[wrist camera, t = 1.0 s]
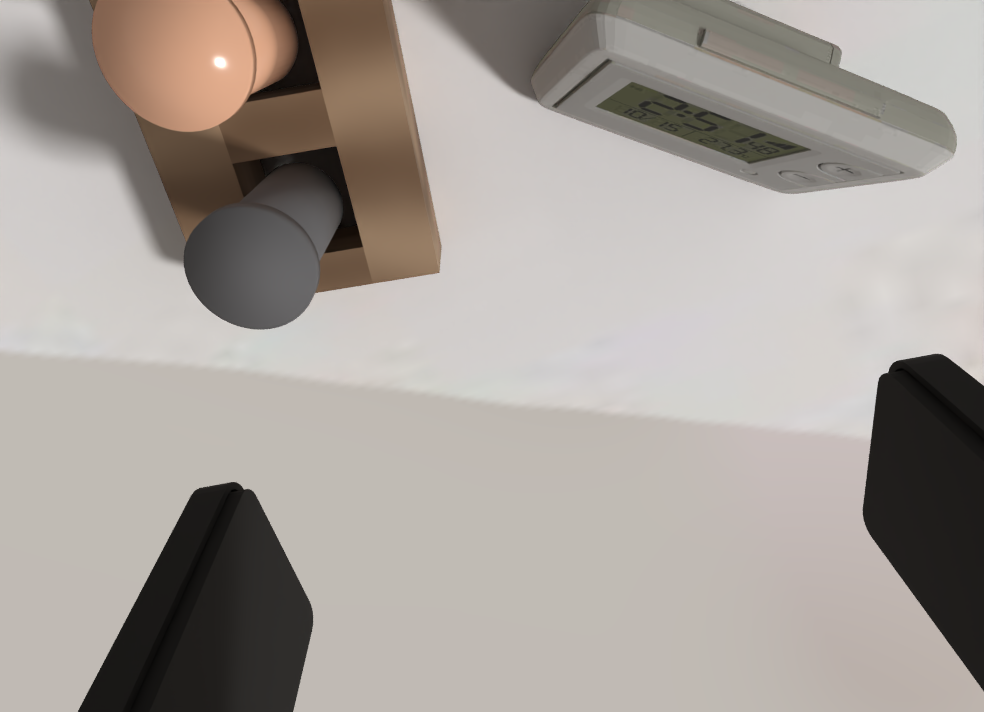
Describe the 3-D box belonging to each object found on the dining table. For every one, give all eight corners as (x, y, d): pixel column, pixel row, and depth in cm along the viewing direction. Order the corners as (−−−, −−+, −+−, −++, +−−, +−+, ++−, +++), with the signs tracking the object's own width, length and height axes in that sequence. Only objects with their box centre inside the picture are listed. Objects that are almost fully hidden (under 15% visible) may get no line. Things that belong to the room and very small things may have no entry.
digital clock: (510, 83, 33) (528, 118, 24) (612, -102, 30) (681, -145, 20) (750, 235, 38) (844, 314, 28) (864, 90, 34) (1015, 126, 25)
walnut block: (30, -272, 26) (-37, -314, 23) (324, -331, 26) (302, -382, 22) (236, 280, 38) (213, 309, 34) (441, 246, 37) (439, 272, 34)
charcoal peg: (238, 163, 31) (162, 220, 23) (336, 146, 31) (294, 198, 23) (270, 257, 34) (211, 338, 26) (362, 242, 33) (331, 318, 25)
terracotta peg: (177, -16, 28) (64, -20, 20) (288, -36, 27) (218, -49, 20) (217, 103, 30) (130, 143, 22) (320, 85, 30) (269, 118, 22)
